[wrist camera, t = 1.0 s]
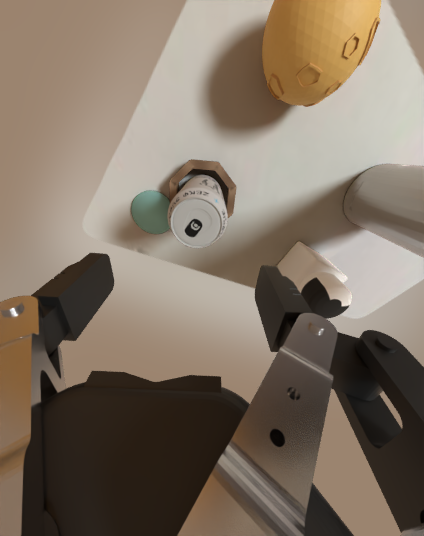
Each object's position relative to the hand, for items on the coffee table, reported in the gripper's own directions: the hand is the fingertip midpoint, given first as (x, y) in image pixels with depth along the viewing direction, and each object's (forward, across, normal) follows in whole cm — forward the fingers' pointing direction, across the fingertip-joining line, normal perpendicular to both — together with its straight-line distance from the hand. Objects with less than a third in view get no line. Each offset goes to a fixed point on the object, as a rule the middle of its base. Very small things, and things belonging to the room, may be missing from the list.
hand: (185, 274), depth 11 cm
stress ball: (+24, -10, -16) cm, 30 cm away
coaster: (+24, +8, +4) cm, 25 cm away
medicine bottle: (+24, -19, +11) cm, 32 cm away
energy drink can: (+24, 0, 0) cm, 24 cm away
